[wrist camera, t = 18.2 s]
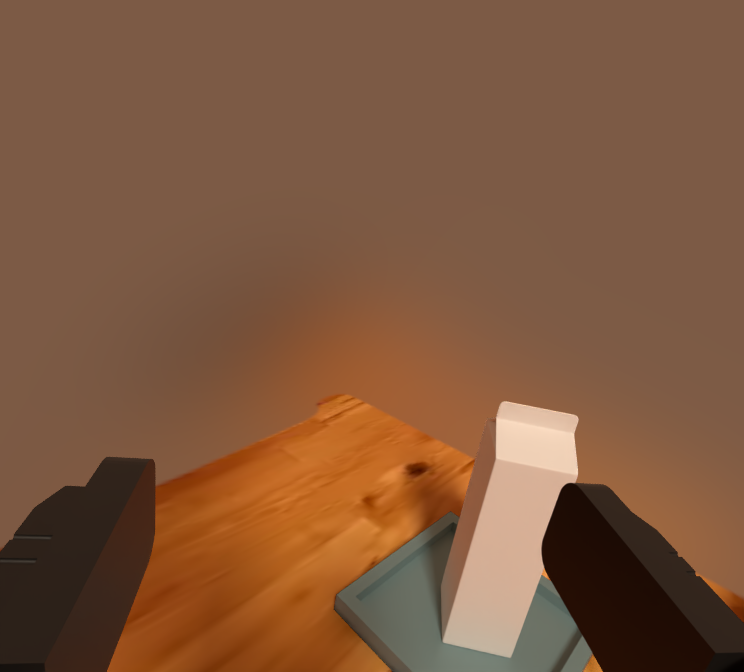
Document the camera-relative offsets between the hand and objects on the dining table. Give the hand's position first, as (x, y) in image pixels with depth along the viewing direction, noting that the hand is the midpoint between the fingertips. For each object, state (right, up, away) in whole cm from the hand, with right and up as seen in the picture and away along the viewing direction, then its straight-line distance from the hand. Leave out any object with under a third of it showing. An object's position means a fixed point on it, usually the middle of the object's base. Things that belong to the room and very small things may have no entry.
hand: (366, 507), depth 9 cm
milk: (+9, -23, +34) cm, 42 cm away
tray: (+9, -23, +34) cm, 42 cm away
